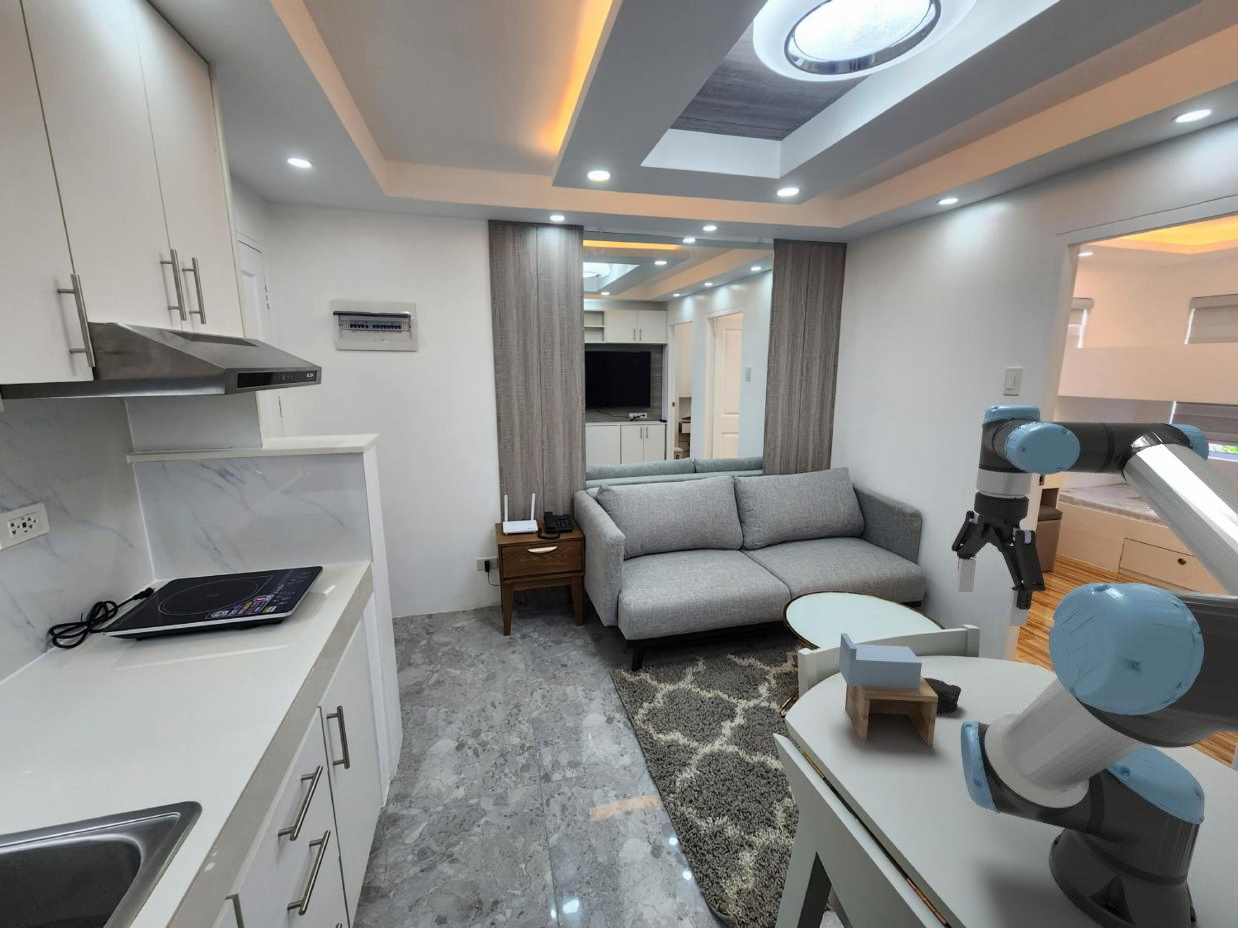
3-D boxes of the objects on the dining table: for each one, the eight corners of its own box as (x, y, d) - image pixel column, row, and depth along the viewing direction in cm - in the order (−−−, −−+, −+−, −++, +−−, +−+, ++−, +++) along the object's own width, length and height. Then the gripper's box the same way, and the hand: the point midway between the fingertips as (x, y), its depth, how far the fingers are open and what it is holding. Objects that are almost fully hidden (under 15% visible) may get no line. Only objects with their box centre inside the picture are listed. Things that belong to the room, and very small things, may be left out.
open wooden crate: (932, 744, 101) (938, 696, 99) (861, 740, 103) (865, 692, 101) (909, 711, 111) (914, 666, 109) (845, 708, 112) (848, 663, 110)
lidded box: (847, 685, 103) (850, 648, 101) (838, 668, 109) (841, 633, 107) (919, 689, 101) (923, 651, 100) (905, 671, 107) (909, 635, 106)
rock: (949, 728, 106) (952, 704, 105) (902, 708, 112) (905, 685, 111) (959, 706, 113) (962, 683, 112) (915, 688, 119) (917, 666, 118)
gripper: (1087, 511, 74) (1067, 642, 78) (976, 479, 99) (965, 579, 102) (1035, 511, 74) (1018, 641, 78) (937, 479, 99) (928, 579, 103)
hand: (988, 606), depth 90 cm, fingers open, 13 cm apart
